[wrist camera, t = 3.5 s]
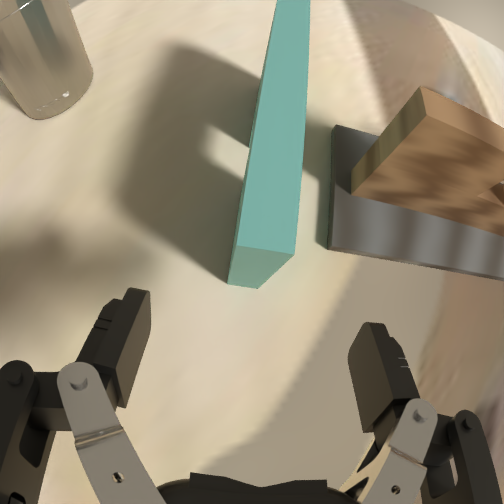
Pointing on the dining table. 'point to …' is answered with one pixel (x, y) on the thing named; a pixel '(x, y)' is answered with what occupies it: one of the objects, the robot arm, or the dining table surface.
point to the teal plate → (274, 153)
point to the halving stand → (422, 189)
